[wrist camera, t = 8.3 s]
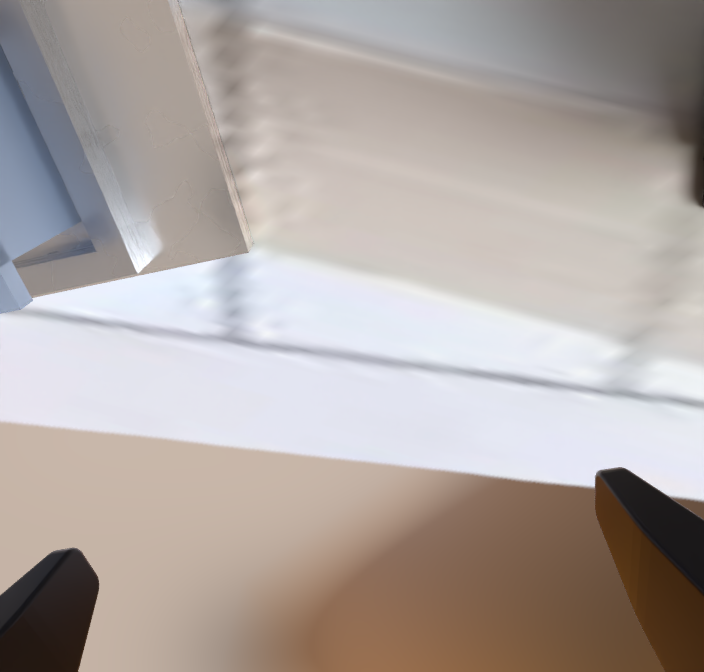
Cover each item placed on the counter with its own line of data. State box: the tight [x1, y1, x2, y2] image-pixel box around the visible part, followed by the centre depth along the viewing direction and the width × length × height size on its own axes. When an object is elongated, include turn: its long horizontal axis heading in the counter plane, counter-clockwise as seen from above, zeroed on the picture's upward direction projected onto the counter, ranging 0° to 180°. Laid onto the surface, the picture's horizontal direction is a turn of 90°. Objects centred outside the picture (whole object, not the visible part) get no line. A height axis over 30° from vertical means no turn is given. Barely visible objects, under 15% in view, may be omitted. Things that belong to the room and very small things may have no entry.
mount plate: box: [0, 0, 254, 298], centre depth 16 cm, size 12×10×2 cm
